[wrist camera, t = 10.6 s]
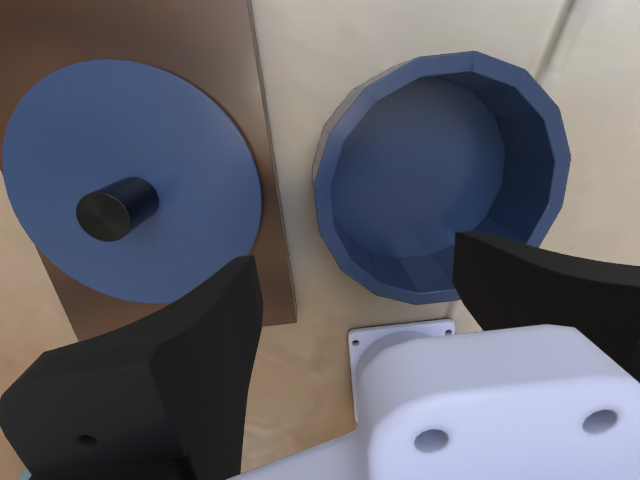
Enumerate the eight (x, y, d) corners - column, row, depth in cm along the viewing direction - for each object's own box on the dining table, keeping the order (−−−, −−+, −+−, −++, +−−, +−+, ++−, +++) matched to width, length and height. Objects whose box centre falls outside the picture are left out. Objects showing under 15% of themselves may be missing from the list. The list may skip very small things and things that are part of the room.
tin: (502, 254, 24) (548, 291, 20) (323, 274, 24) (328, 315, 20) (525, 52, 19) (592, 37, 15) (301, 76, 19) (300, 69, 15)
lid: (279, 282, 22) (273, 324, 18) (72, 305, 22) (19, 352, 18) (239, 47, 17) (219, 30, 13) (-29, 76, 17) (-135, 69, 13)
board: (297, 310, 25) (296, 322, 24) (93, 332, 25) (80, 346, 24) (247, -21, 17) (242, -31, 16) (-46, 12, 17) (-76, 4, 16)
